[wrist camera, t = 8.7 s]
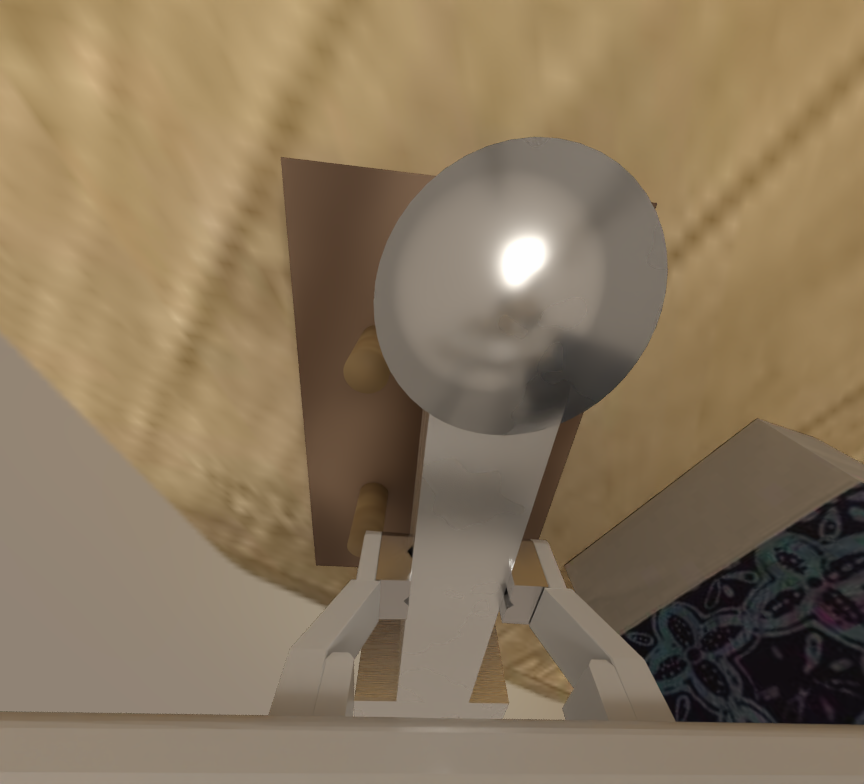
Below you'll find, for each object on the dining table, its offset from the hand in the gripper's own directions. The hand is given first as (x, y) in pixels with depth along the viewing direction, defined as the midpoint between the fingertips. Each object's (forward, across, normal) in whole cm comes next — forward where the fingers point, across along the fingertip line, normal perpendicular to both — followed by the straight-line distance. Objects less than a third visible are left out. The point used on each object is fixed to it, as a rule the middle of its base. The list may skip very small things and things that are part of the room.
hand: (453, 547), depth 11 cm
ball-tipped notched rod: (+2, 0, 0) cm, 2 cm away
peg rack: (+8, 0, 0) cm, 8 cm away
